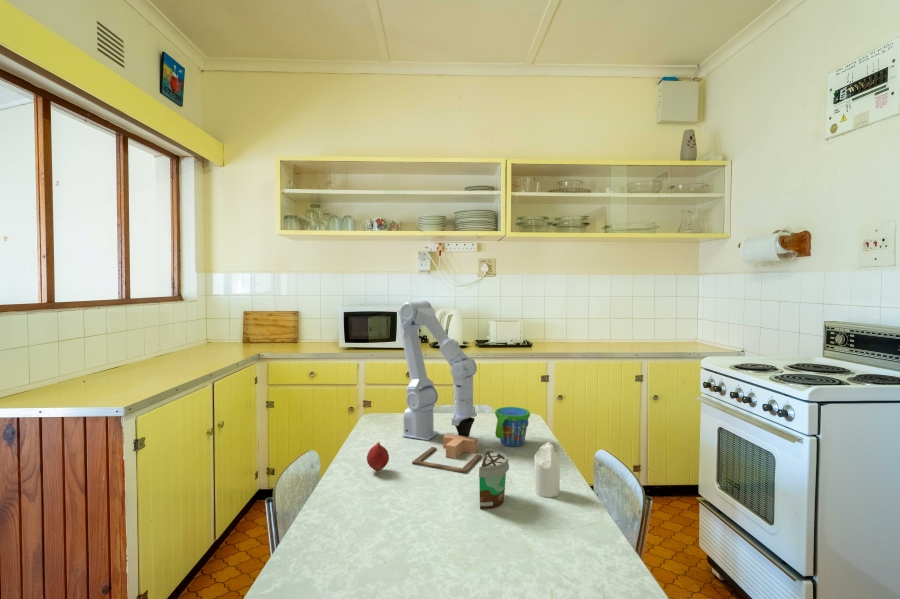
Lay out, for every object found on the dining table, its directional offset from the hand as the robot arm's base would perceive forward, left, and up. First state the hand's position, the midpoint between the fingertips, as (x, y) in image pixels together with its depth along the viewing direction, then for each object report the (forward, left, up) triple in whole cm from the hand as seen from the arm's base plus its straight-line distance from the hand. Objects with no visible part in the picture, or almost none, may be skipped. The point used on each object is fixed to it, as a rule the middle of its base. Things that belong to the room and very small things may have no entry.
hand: (463, 442), depth 143 cm
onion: (-14, -27, -1) cm, 30 cm away
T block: (0, -6, -1) cm, 6 cm away
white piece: (+30, -21, -1) cm, 36 cm away
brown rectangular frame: (0, -12, -1) cm, 12 cm away
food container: (+20, -30, -1) cm, 36 cm away
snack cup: (+13, +8, -1) cm, 15 cm away
